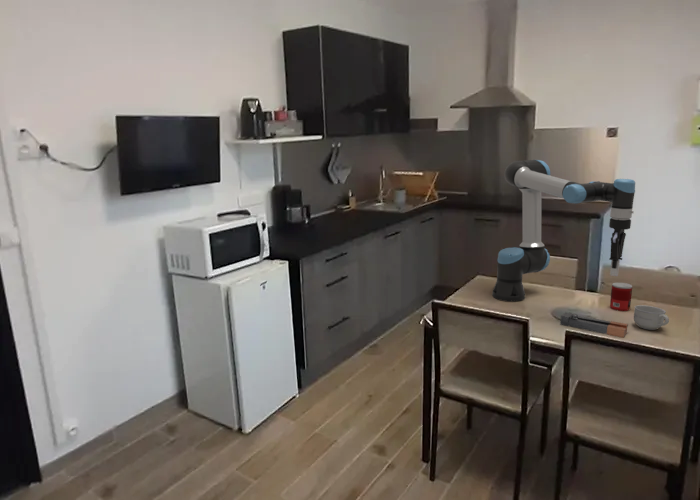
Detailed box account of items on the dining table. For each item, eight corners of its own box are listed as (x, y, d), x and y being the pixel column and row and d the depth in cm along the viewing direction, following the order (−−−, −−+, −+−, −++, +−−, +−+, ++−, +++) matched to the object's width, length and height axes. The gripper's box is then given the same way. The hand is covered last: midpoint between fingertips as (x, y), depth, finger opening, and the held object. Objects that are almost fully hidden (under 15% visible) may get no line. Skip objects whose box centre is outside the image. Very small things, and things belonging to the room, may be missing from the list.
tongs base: (560, 324, 208) (560, 315, 207) (564, 320, 212) (565, 312, 211) (623, 337, 193) (624, 328, 193) (626, 333, 198) (627, 324, 197)
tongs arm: (570, 324, 207) (570, 315, 206) (572, 322, 210) (572, 312, 209) (625, 334, 196) (626, 324, 195) (627, 331, 199) (628, 321, 198)
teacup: (626, 323, 209) (628, 304, 207) (651, 321, 209) (653, 303, 208) (649, 336, 195) (651, 316, 193) (675, 334, 196) (678, 315, 194)
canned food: (632, 311, 221) (635, 287, 219) (612, 310, 223) (615, 286, 221) (626, 306, 229) (629, 282, 226) (607, 305, 230) (609, 282, 228)
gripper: (626, 221, 194) (619, 280, 200) (635, 217, 204) (628, 273, 209) (605, 219, 199) (599, 277, 204) (614, 215, 208) (608, 270, 214)
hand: (613, 275), depth 207 cm, fingers closed
